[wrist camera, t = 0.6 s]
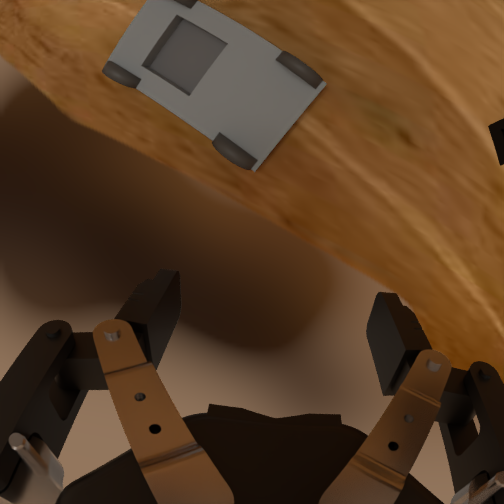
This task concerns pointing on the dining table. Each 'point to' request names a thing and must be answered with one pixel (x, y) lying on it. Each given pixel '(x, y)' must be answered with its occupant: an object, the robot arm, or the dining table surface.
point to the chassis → (214, 76)
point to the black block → (498, 138)
